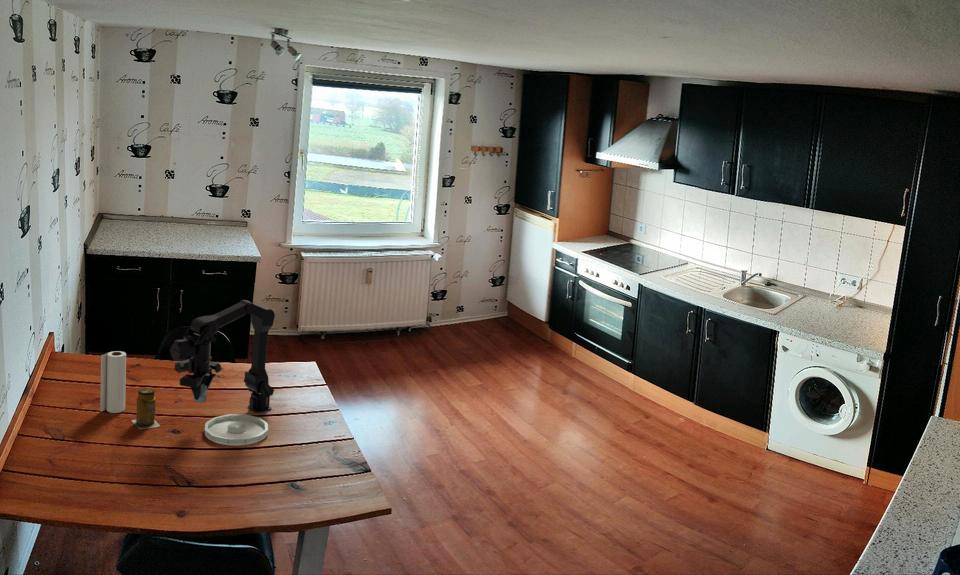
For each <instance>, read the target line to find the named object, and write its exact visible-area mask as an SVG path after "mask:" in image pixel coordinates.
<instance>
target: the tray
mask: <svg viewBox="0 0 960 575" xmlns="http://www.w3.org/2000/svg"><path fill="white" fill-rule="evenodd" d="M268 434H269V424H268V422H266V421H265V420H264V419H262V418H261V417H259V416H254V415H250V414H246V413H245V414H244V413H242V414H241V413H238V414H236V413H235V414H234V413H232V414H230V413H228V414H224V415H220V416H215V417H212V418H210V419H209V420H208V421H206V422H205V423H204V436H205V437H206V439H208V440H209V441H211V442H213V443H216V444H219V445H223V446H232V447H233V446H236V447H238V446H239V447H241V446H248V445H253V444H257V443H260V442H261V441H263V440H264V439H265V438H266V437H267V436H268Z"/></svg>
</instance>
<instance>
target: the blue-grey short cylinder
mask: <svg viewBox="0 0 960 575" xmlns="http://www.w3.org/2000/svg"><path fill="white" fill-rule="evenodd" d="M207 393H208V390H207V386H206V385H204V386H203V389H202V392H201V394H200V397H199V399H198V400H195V398H194V395H193V394H192V400H193V402H195V403H204V402H206V401H207V397H208V396H207V395H208V394H207Z"/></svg>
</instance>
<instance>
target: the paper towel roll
mask: <svg viewBox="0 0 960 575" xmlns="http://www.w3.org/2000/svg"><path fill="white" fill-rule="evenodd" d="M126 368H127V353H126V352H125V351H121V350H119V351H118V350H116V351H114V350H113V351H110V352H106V353H105V354H101V356H100V404H99V405H100V407H99V410H100V413H101V412H104V411H107V412H108V413H111V414H120V413H123V412H124V411H125V409H126V380H127V379H126V378H127V376H126V375H127V369H126Z"/></svg>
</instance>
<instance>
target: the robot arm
mask: <svg viewBox="0 0 960 575" xmlns="http://www.w3.org/2000/svg"><path fill="white" fill-rule="evenodd" d="M246 315H250V321H251V324H252V327H253V330H254V332H253V342H252V344H253V345H252V353H251V354H252V355H251V366H250V368H249V370H248V371H245V372H244V379H243V382H244V385H245V387H246V388H247V391H248V392H251V393H250V397H249V405H247V408H249V409H250V410H252V411H253V412H255V413H256V414H257V413H262V412H266V411H270V410H272V407H270V399H271V397H272V396H273V395H274V392H275V389H274V388H273V387H272V386H271V385H270V384H269V383H270V382H269V375H268V372H267V370H266V362H267V350H268V339H269V331H270V330H271V328H272V327H273V325H274V322H275V318H276V314H275V311H274V310H273V309H270V308H268V307H266V306H263V305H261V304H260V305H259V304H257V305H256V304H254V303H253V302H251V301H249V300H246V299H242V300H239V302H237V303H235V304H233V305H231V306H229V307H227V308H225V309H222V310H220V311H219V312H217V313H215V314H212V315H211V314H210V315H203V316H198V317H196V318H194V319H192V320H191V323H190V326H189V327H188V328H187V330H186V332H185V334H184V335H183V339H176V340H174V342H173V344H171V346H170V349H169V353H170V356H171V358H172V359H173V361H175V363H174V368H173V370H174V371H175V372H176V373H177V374H181V373H184V372H187V373H186V374H185V375H183V376H182V377H181V378H179V386H182V387H187V388H190V390H191V392H192V396H193V395H194V398H195V400H198V399H199V397H200V394H201V392H202V389H203V386H204V385H206V386H207V391H208V389H209V388H210V386H211V384H212V383H213V381H214V379H215V378H216V376H217V374H218V373H220V372H221V371H222V366H221V363H219V362H217V361H216V362H215V361H213V356H211V344H212V342H217V339H216V338H215V337H214V335H215V334H216V333H218V331H219V329H220V328H222V327H223V326H225V325H227V324H229V323H232V322H234V321H236V320H237V319H239V318H242V317H243V316H246ZM213 371H214V372H215V373H216V374H215V373H213Z"/></svg>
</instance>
